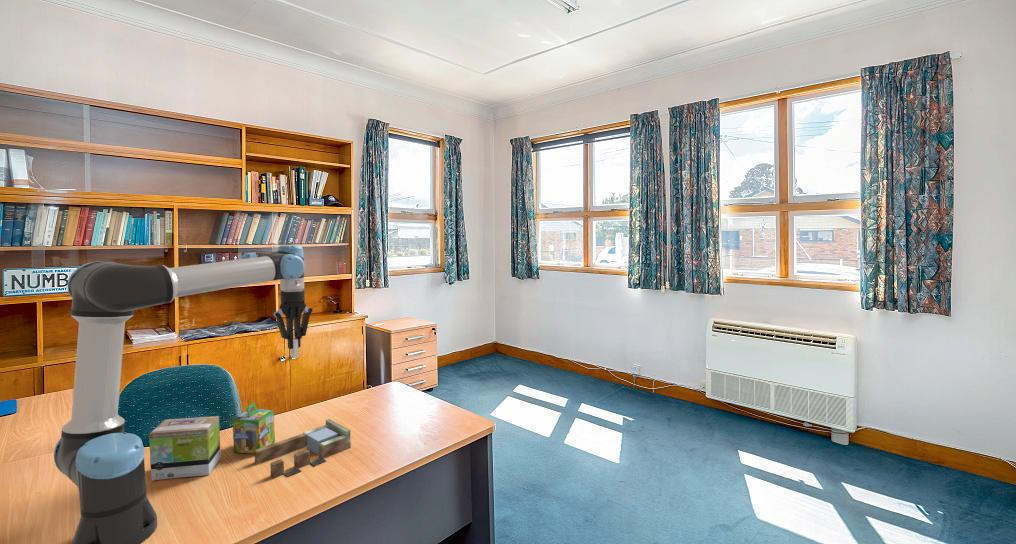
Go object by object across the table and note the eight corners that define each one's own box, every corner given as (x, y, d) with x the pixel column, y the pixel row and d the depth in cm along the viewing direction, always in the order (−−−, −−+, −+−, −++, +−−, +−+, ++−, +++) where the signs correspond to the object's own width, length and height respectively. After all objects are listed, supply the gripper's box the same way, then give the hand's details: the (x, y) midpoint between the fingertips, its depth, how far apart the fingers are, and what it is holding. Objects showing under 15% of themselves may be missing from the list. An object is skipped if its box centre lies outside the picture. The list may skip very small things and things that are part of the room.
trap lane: (277, 481, 130) (276, 461, 130) (254, 462, 141) (254, 444, 140) (354, 449, 150) (354, 432, 149) (329, 435, 160) (329, 418, 159)
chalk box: (259, 455, 145) (257, 410, 144) (232, 453, 146) (230, 409, 144) (276, 441, 154) (274, 400, 153) (250, 440, 155) (249, 398, 154)
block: (318, 455, 146) (318, 441, 145) (307, 449, 150) (306, 434, 149) (338, 447, 151) (337, 433, 151) (326, 441, 155) (326, 427, 155)
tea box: (150, 482, 129) (147, 433, 127) (166, 464, 138) (163, 418, 137) (209, 475, 133) (207, 427, 131) (221, 458, 142) (219, 414, 141)
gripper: (277, 293, 146) (280, 363, 149) (316, 289, 156) (317, 355, 159) (267, 290, 151) (270, 359, 153) (305, 287, 161) (307, 351, 163)
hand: (294, 357), depth 156 cm, fingers closed
